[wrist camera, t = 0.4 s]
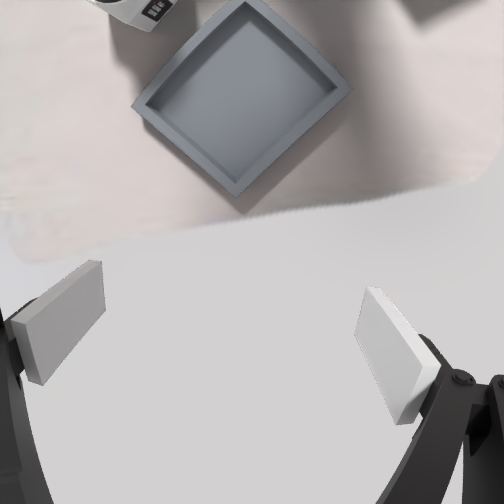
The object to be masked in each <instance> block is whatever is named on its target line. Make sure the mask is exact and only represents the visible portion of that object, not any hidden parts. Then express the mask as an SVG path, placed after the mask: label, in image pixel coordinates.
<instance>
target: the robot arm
mask: <svg viewBox="0 0 504 504" xmlns="http://www.w3.org/2000/svg"><path fill="white" fill-rule="evenodd" d="M103 287H104V286H103V273H102V262H101V261H94V260H88V261H87V262H85V263H84V264H83V265H81V266H80V267H78V268H77V269H76V270H75V271H73V272H71V273H70V274H69V275H68V276H66V277H65V278H63V279H62V280H61V281H59V282H58V283H57V284H55V285H54V286H53V287H51V288H50V289H49V290H48V291H46V292H45V293H44V294H43V295H41V296H40V297H38V298H35V299H33V300H31V301H29V302H28V303H26V304H25V305H24V306H23V307H21V308H20V309H19V310H18V312H17V311H16V312H15V313H14V314H13V315H11V316H10V317H9V318H8V319H6V320H5V321H3V317H2V313H1V309H0V504H54V503H53V500H52V498H51V495H50V493H49V489H48V486H47V484H46V480H45V477H44V474H43V472H42V468H41V465H40V461H39V458H38V454H37V451H36V447H35V443H34V439H33V435H32V431H31V427H30V422H29V418H28V413H27V408H26V402H25V397H24V391H23V385H22V380H21V377H20V373H21V372H22V371H23V370H24V369H25V372H26V375H27V378H28V381H30V382H33V383H36V384H39V385H42V386H43V385H44V384H45V383H46V382H47V380H48V379H49V378H50V377H51V375H52V374H53V373H54V372H55V370H56V369H57V368H58V367H59V365H60V364H61V363H62V362H63V360H64V359H65V358H66V357H67V355H68V354H69V353H70V352H71V351H72V349H73V348H74V347H75V346H76V345H77V343H78V342H79V341H80V340H81V338H82V337H83V336H84V335H85V334H86V333H87V332H88V330H89V329H90V328H91V327H92V326H93V325H94V323H95V322H96V321H97V320H98V319H99V318H100V316H101V315H102V314H103V313H104V312H105V311H106V308H105V297H104V288H103ZM354 335H355V337H356V340H357V342H358V344H359V346H360V348H361V350H362V352H363V354H364V356H365V358H366V360H367V363H368V365H369V367H370V369H371V371H372V373H373V376H374V378H375V380H376V382H377V384H378V386H379V389H380V391H381V393H382V395H383V397H384V400H385V402H386V404H387V406H388V408H389V411H390V413H391V415H392V418H393V420H394V422H395V424H396V425H402V424H411V423H413V422H414V421H415V418H416V417H417V415H418V413H419V412H420V414H421V415H422V417H423V420H422V422H421V423H420V425H419V427H418V429H417V430H416V432H415V434H414V436H413V437H412V442H411V443H410V445H409V447H408V449H407V451H406V453H405V455H404V457H403V458H402V460H401V462H400V464H399V466H398V468H397V469H396V471H395V473H394V474H393V476H392V478H391V480H390V481H389V483H388V485H387V486H386V488H385V490H384V491H383V493H382V494H381V496H380V498H379V499H378V501H377V502H376V504H441V502H442V500H443V497H444V495H445V492H446V490H447V487H448V485H449V482H450V479H451V476H452V473H453V471H454V467H455V465H456V462H457V459H458V455H459V452H460V449H461V446H462V442H463V493H462V504H504V375H495V376H494V377H493V378H492V380H491V382H490V383H489V385H484V384H476V381H475V379H474V377H473V376H472V375H470V374H469V373H467V372H465V371H463V370H459V369H453V368H452V367H451V366H450V365H449V363H448V362H447V361H446V359H445V358H444V357H443V355H442V354H440V352H439V351H438V349H437V348H436V347H435V345H434V344H433V343H432V342H431V340H429V339H428V338H426V337H425V336H423V335H422V334H417V333H416V331H415V330H414V329H413V328H412V326H411V325H410V324H409V323H408V322H407V320H406V319H405V318H404V316H403V315H402V314H401V313H400V311H399V310H398V309H397V308H396V307H395V305H394V304H393V303H392V302H391V300H390V299H389V298H388V297H387V295H386V294H385V293H384V292H383V291H382V289H381V288H376V287H366V290H365V295H364V299H363V303H362V307H361V311H360V315H359V319H358V323H357V327H356V331H355V334H354Z"/></svg>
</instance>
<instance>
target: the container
mask: <svg viewBox="0 0 504 504" xmlns="http://www.w3.org/2000/svg"><path fill="white" fill-rule="evenodd" d="M87 1H89V2H90V3H92V4H94V5H95V6H97V7H99V8H101V9H102V10H104V11H106V12H107V13H109V14H111V15H112V16H114V17H115V18H117V19H119V20H120V21H122V22H124V23H125V24H128V25H131V26H133V27H136V28H138V29H141V30H143V31H146V32H151V31H152V30H153V29H154V28H155V26H156V25H157V24H158V23H159V22H160V20H161V19H162V18H163V17H164V16H165V15H166V14H167V12H168V11H169V10H170V9H171V8H172V7H173V6H174V5H175V4H176V2H177V1H178V0H87Z"/></svg>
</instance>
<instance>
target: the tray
mask: <svg viewBox="0 0 504 504" xmlns="http://www.w3.org/2000/svg"><path fill="white" fill-rule="evenodd" d="M352 90H353V88H352V87H351V86H350V85H349V84H348V83H347V81H346V80H345V79H344V78H343V77H342V76H341V75H340V74H339V73H338V72H337V71H336V69H335V68H334V67H333V66H332V65H331V64H330V63H329V62H328V61H327V60H326V59H325V58H324V57H323V56H322V55H321V54H320V53H319V52H318V51H317V50H316V49H315V48H314V47H313V46H312V45H311V44H310V43H309V42H308V41H307V40H306V39H305V38H304V37H303V36H301V35H300V34H299V33H298V32H297V31H296V30H295V29H294V28H293V27H292V26H291V25H290V24H288V23H287V22H286V21H285V20H284V19H283V18H282V17H281V16H279V15H278V14H277V13H276V12H275V11H274V10H272V9H271V8H270V7H269V6H268V5H266V4H265V3H264V2H263V1H262V0H230V1H229V2H228V3H226V4H225V5H224V6H223V7H222V8H221V9H220V10H219V11H218V12H217V13H215V14H214V15H213V16H212V17H211V18H210V19H209V20H208V21H207V22H206V23H205V24H204V25H203V26H202V27H201V28H200V29H199V30H198V31H197V32H196V33H195V34H194V35H193V36H192V37H191V38H190V39H189V40H188V41H187V42H186V43H185V44H184V45H183V46H182V47H181V48H180V49H179V50H178V51H177V52H176V53H175V55H174V56H173V57H172V58H171V59H170V60H169V61H168V62H167V63H166V64H165V66H164V67H163V68H162V69H161V70H160V71H159V72H158V74H157V75H156V76H155V77H154V78H153V79H152V81H151V82H150V83H149V84H148V85H147V87H146V88H145V89H144V90H143V91H142V93H141V94H140V95H139V96H138V98H137V99H136V100H135V101H134V103H133V104H132V105H131V106H130V107H131V108H133V109H134V110H135V111H136V112H137V113H139V114H140V115H141V116H142V117H143V118H144V119H146V120H147V121H148V122H149V123H150V124H152V125H153V126H154V127H155V128H156V129H157V130H159V131H160V132H161V133H162V134H163V135H164V136H166V137H167V138H168V139H169V140H170V141H171V142H173V143H174V144H175V145H176V146H177V147H178V148H180V149H181V150H182V151H183V152H184V153H185V154H186V155H188V156H189V157H190V158H191V159H192V160H193V161H194V162H196V163H197V164H198V165H199V166H200V167H201V168H202V169H204V170H205V171H206V172H207V173H208V174H209V175H210V176H212V177H213V178H214V179H215V180H216V181H217V182H218V183H219V184H221V185H222V186H223V187H224V188H225V189H226V190H227V191H229V192H230V193H231V194H232V195H233V196H234V197H235V198H236V197H237V196H238V195H239V194H240V193H241V192H242V191H244V190H245V189H246V188H247V187H248V186H249V185H250V184H251V183H252V182H253V181H254V180H255V179H256V178H257V177H258V176H259V175H260V174H261V173H262V172H263V171H264V170H265V169H266V168H267V167H268V166H270V165H271V164H272V163H273V162H274V161H275V160H276V159H277V158H278V157H279V156H280V155H281V154H282V153H283V152H284V151H285V150H287V149H288V148H289V147H290V146H291V145H292V144H293V143H294V142H295V141H296V140H297V139H298V138H299V137H301V136H302V135H303V134H304V133H305V132H306V131H307V130H308V129H309V128H310V127H311V126H313V125H314V124H315V123H316V122H317V121H318V120H319V119H320V118H321V117H323V116H324V115H325V114H326V113H327V112H328V111H329V110H330V109H331V108H333V107H334V106H335V105H336V104H337V103H338V102H339V101H340V100H342V99H343V98H344V97H345V96H346V95H347V94H348V93H350V92H351V91H352Z"/></svg>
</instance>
